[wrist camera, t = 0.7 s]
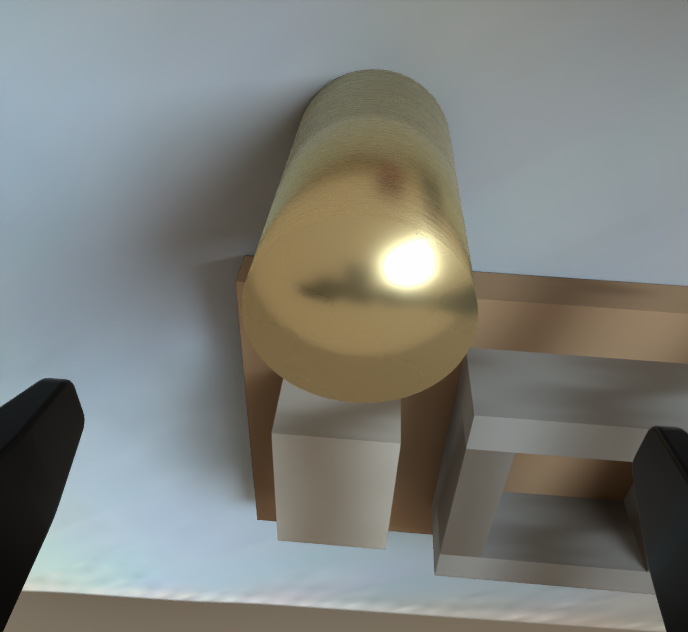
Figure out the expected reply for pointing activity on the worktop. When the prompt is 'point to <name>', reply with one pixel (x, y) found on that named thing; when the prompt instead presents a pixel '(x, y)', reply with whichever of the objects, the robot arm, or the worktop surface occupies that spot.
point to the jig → (490, 438)
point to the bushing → (364, 248)
